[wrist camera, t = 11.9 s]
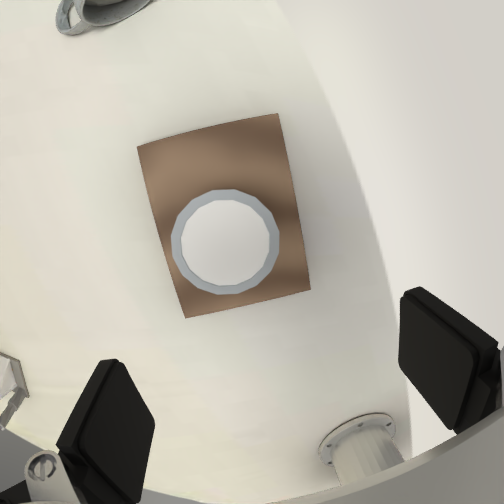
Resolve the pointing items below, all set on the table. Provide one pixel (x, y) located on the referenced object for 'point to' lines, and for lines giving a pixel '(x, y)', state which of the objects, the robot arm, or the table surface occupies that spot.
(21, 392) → the skyscraper
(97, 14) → the ceramic mug
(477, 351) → the robot arm
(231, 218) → the white short cylinder
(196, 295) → the walnut board
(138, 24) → the table surface
